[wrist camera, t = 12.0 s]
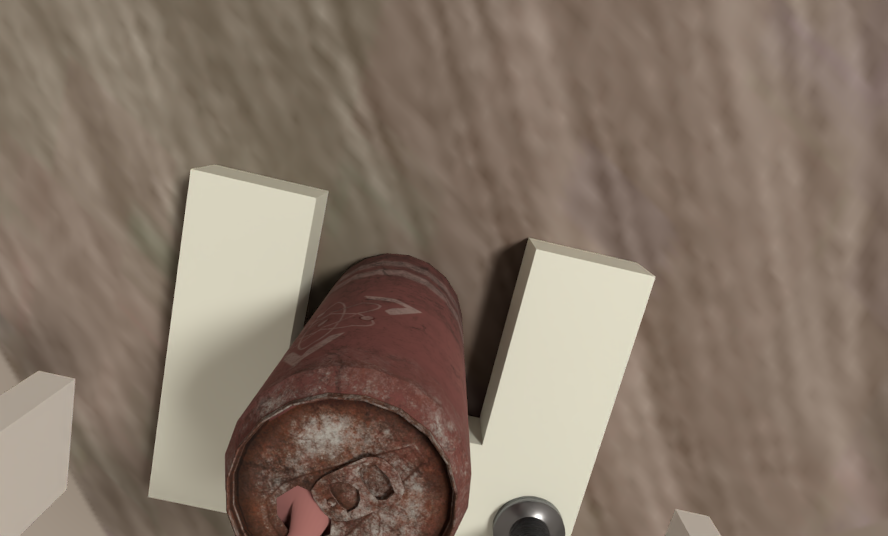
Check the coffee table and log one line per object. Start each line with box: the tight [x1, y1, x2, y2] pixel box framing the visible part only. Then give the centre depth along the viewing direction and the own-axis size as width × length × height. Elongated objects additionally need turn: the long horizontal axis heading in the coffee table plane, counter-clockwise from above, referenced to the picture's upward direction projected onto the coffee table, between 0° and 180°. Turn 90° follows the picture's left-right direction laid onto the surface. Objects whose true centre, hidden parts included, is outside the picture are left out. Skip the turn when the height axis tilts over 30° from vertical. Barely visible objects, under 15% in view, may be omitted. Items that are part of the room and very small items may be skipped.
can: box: [225, 253, 471, 536], centre depth 21 cm, size 6×6×14 cm
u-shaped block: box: [148, 165, 655, 536], centre depth 27 cm, size 15×19×2 cm
